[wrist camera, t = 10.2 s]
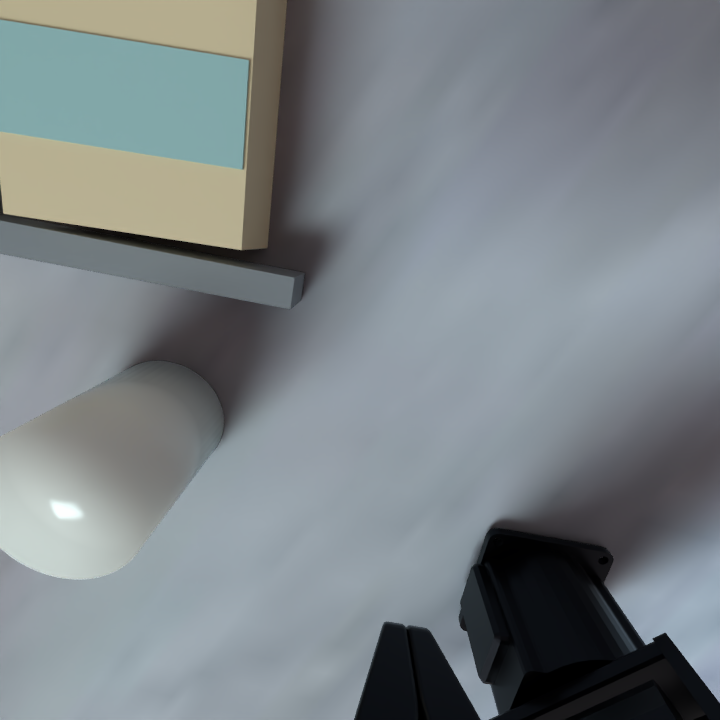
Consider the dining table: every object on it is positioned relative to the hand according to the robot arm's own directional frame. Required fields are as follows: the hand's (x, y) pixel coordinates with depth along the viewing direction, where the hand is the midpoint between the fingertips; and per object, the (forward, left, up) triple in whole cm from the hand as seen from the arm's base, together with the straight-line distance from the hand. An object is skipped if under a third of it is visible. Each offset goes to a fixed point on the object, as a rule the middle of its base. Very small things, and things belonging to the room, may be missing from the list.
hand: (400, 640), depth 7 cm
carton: (+10, -11, -12) cm, 20 cm away
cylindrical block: (+10, +3, -12) cm, 16 cm away
